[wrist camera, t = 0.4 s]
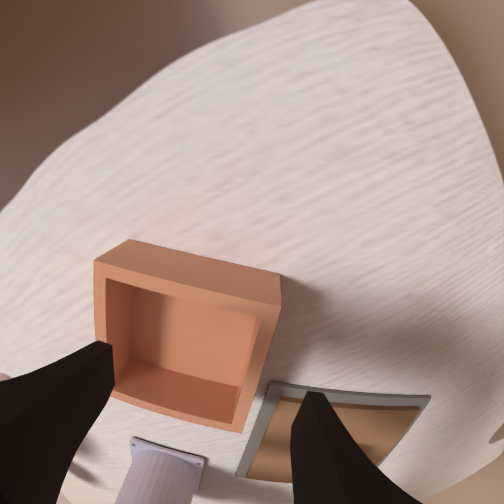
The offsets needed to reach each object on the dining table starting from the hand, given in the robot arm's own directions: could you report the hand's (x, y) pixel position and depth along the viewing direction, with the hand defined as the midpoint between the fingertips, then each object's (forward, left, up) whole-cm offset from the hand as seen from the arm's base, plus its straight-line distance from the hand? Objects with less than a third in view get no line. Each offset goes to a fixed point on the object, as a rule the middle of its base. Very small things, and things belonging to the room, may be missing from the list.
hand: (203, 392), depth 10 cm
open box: (-3, +2, -10) cm, 11 cm away
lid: (-14, -12, -9) cm, 21 cm away
